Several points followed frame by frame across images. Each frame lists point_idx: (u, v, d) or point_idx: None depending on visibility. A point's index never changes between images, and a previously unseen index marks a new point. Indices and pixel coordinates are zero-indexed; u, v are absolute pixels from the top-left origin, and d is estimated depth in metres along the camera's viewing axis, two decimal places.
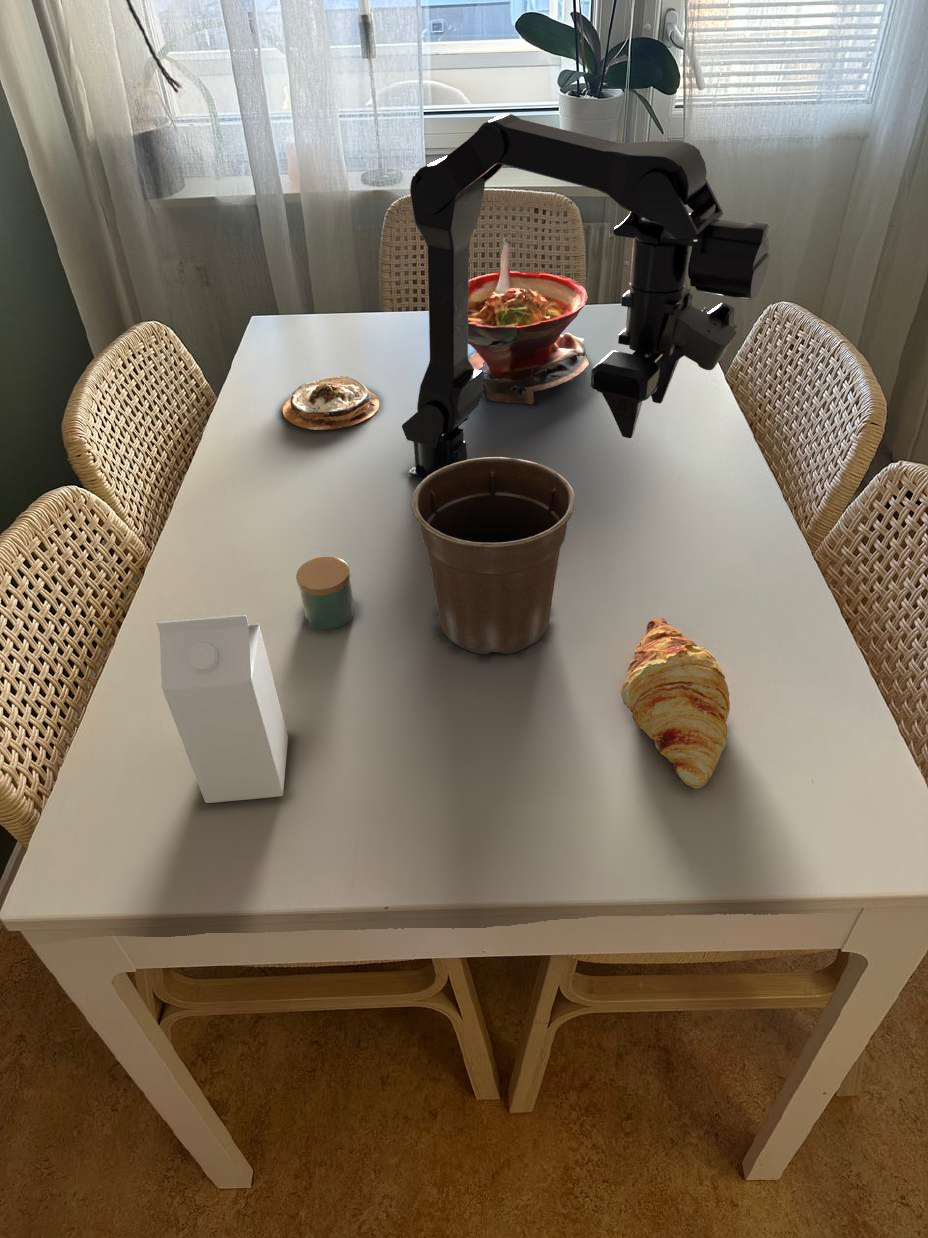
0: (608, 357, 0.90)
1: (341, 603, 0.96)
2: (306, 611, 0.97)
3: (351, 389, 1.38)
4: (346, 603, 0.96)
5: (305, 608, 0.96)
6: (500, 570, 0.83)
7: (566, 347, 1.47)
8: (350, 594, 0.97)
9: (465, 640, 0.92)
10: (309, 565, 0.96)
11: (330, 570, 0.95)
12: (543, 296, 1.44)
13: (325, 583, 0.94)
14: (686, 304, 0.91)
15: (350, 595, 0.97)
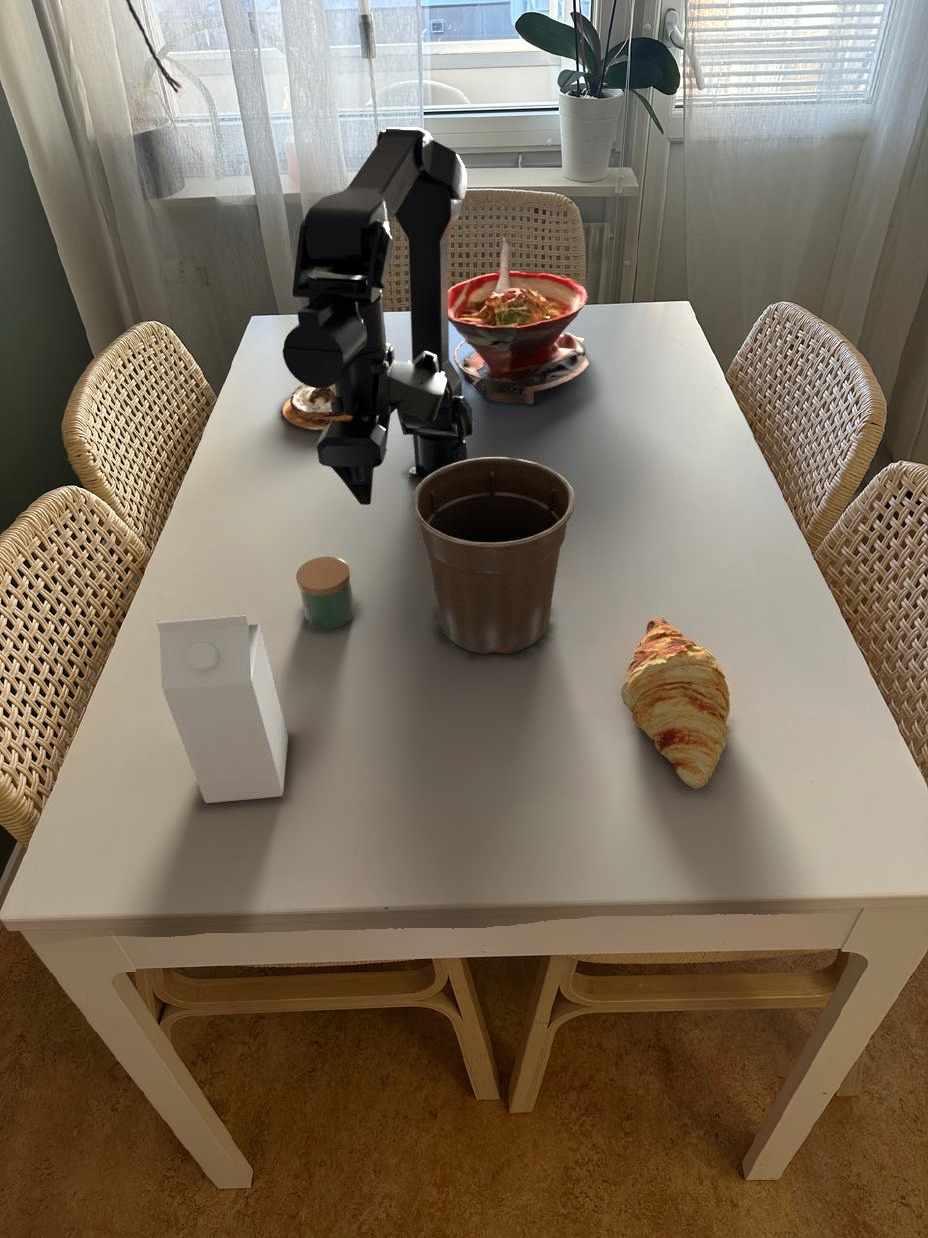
0: (330, 429, 0.84)
1: (341, 603, 0.96)
2: (306, 611, 0.97)
3: None
4: (346, 603, 0.96)
5: (305, 608, 0.96)
6: (500, 570, 0.83)
7: (566, 347, 1.47)
8: (350, 594, 0.97)
9: (464, 640, 0.92)
10: (309, 565, 0.96)
11: (330, 570, 0.95)
12: (543, 296, 1.44)
13: (325, 583, 0.94)
14: (390, 360, 0.88)
15: (350, 595, 0.97)
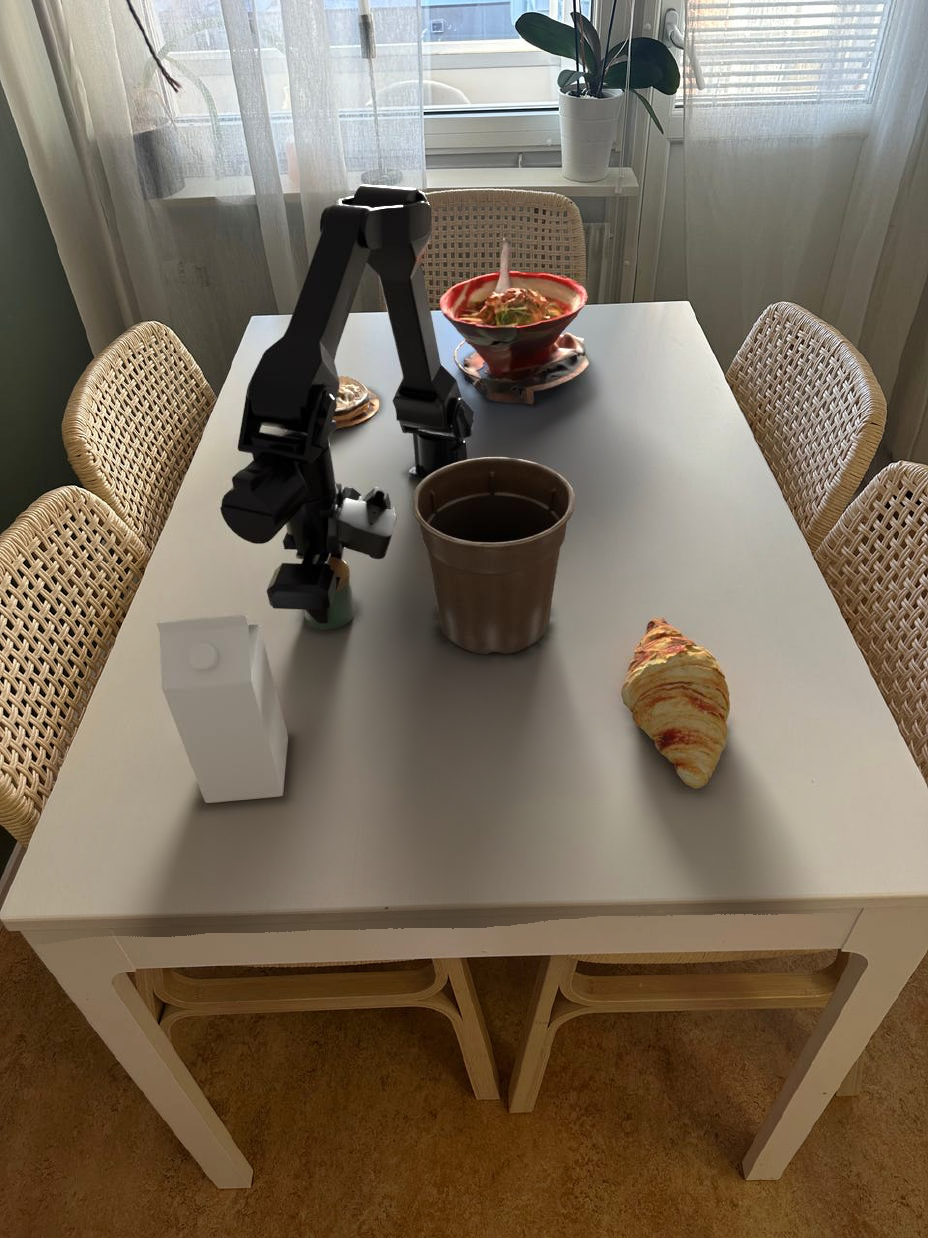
0: (280, 574, 0.86)
1: (341, 603, 0.96)
2: (306, 611, 0.97)
3: (351, 389, 1.38)
4: (346, 603, 0.96)
5: None
6: (500, 570, 0.83)
7: (566, 347, 1.47)
8: (350, 594, 0.97)
9: (464, 640, 0.92)
10: None
11: None
12: (543, 296, 1.44)
13: None
14: (341, 499, 0.90)
15: (350, 595, 0.97)
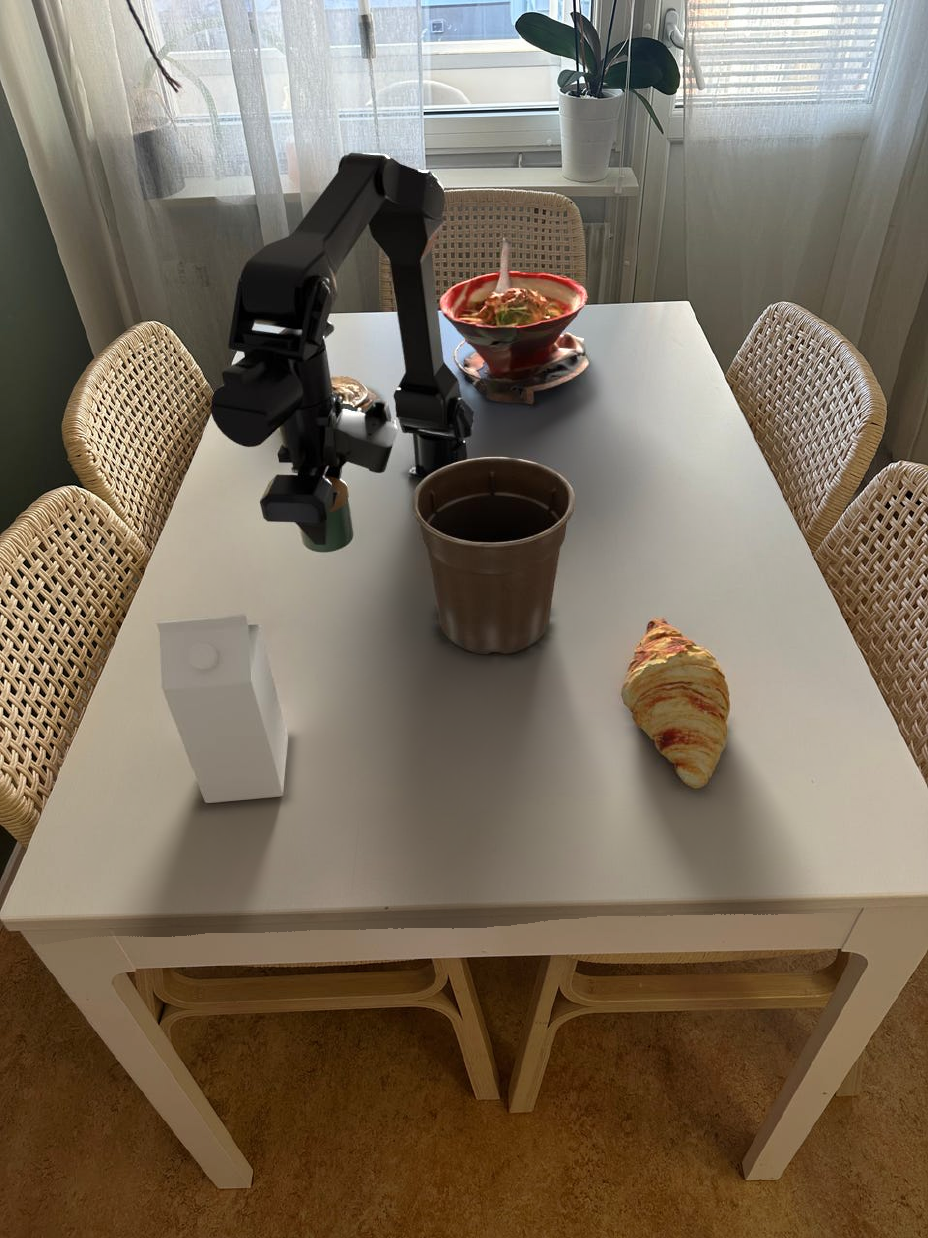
0: (274, 484, 0.82)
1: (339, 524, 0.91)
2: (302, 533, 0.92)
3: (351, 389, 1.38)
4: (344, 524, 0.92)
5: None
6: (500, 570, 0.83)
7: (566, 347, 1.47)
8: (349, 515, 0.92)
9: (464, 640, 0.92)
10: None
11: None
12: (543, 296, 1.44)
13: None
14: (339, 409, 0.85)
15: (349, 516, 0.92)
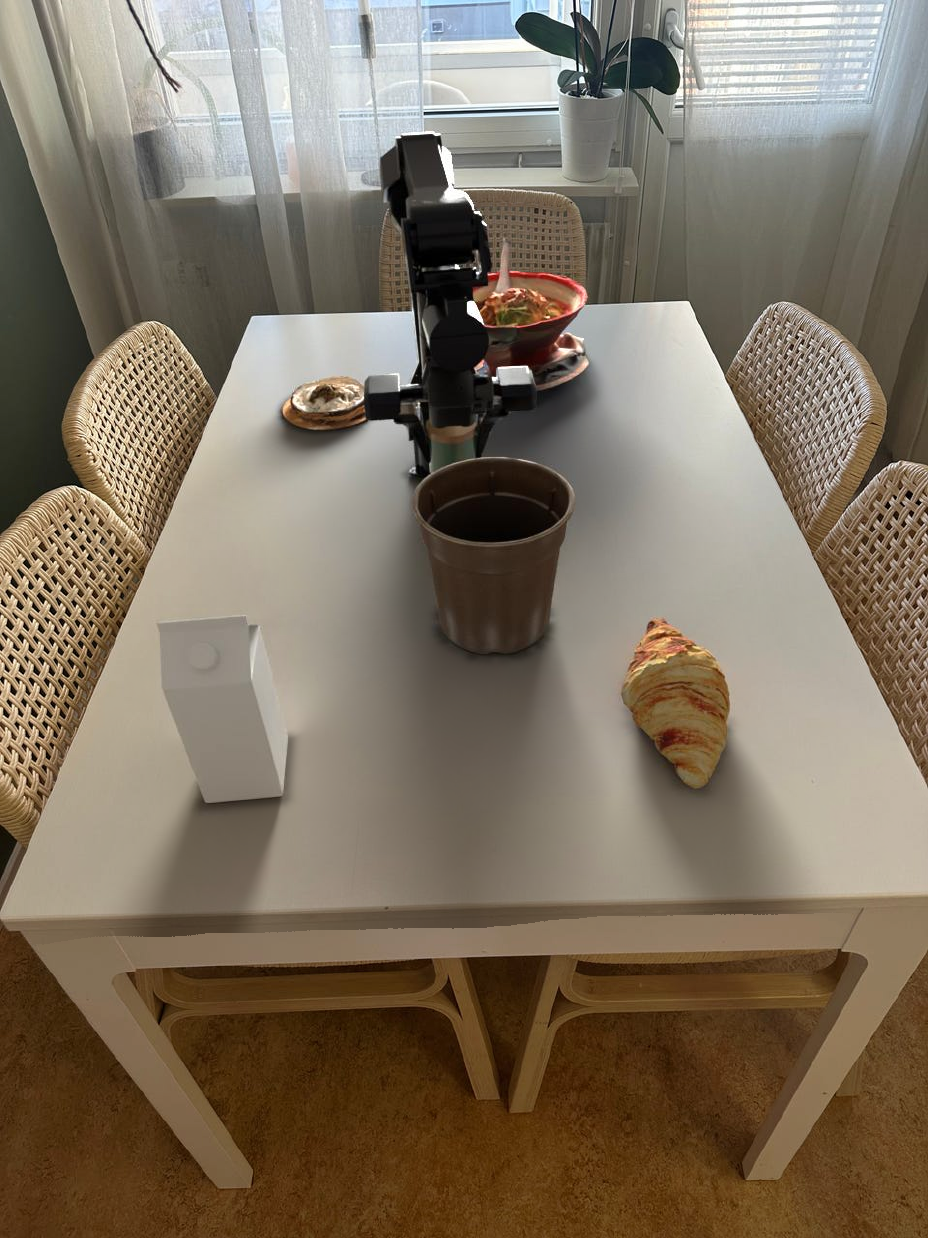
0: (382, 375, 0.97)
1: (437, 456, 0.99)
2: None
3: (351, 389, 1.38)
4: (442, 460, 0.99)
5: None
6: (500, 570, 0.83)
7: (566, 347, 1.47)
8: (451, 458, 0.99)
9: (464, 640, 0.92)
10: None
11: (455, 426, 0.98)
12: (543, 296, 1.44)
13: None
14: None
15: (451, 459, 0.99)
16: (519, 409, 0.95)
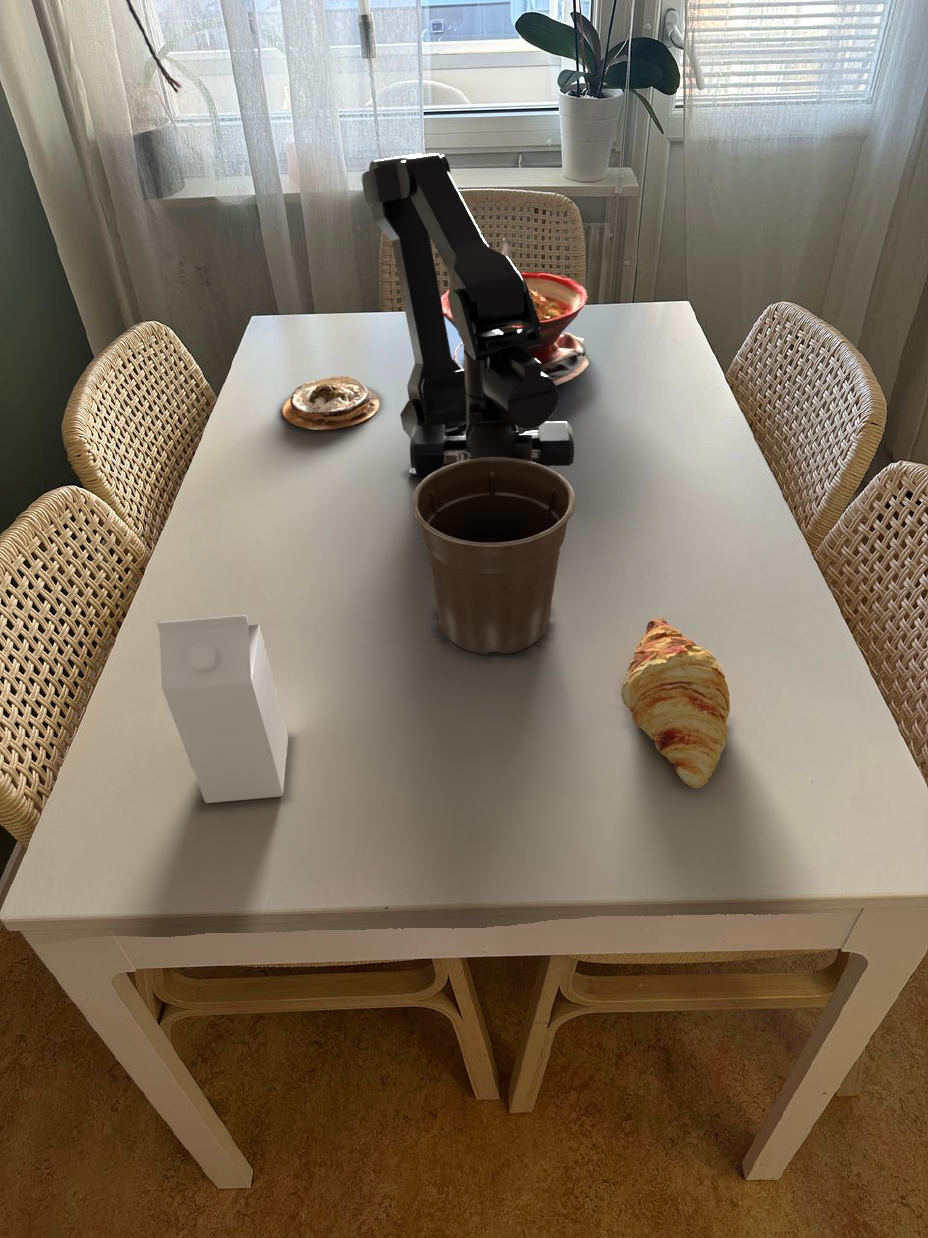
0: (429, 426, 1.02)
1: None
2: None
3: (351, 389, 1.38)
4: None
5: None
6: (500, 570, 0.83)
7: (566, 347, 1.47)
8: None
9: (464, 640, 0.92)
10: None
11: None
12: (543, 296, 1.44)
13: None
14: (500, 418, 0.96)
15: None
16: (557, 464, 0.99)
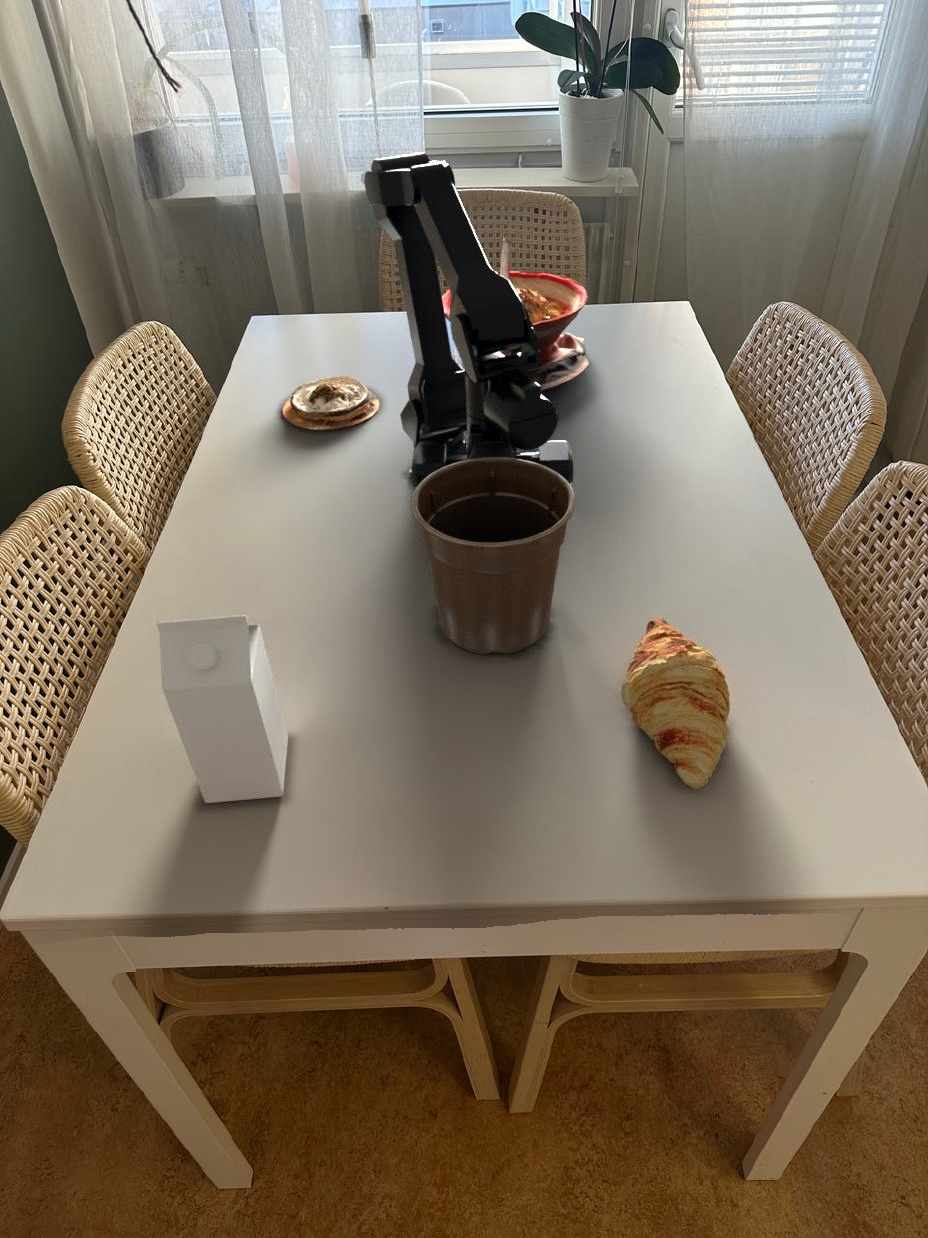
0: (430, 445, 1.03)
1: None
2: None
3: (351, 389, 1.38)
4: None
5: None
6: (500, 570, 0.83)
7: (566, 347, 1.47)
8: None
9: (464, 640, 0.92)
10: None
11: None
12: (543, 296, 1.44)
13: None
14: (500, 438, 0.97)
15: None
16: None
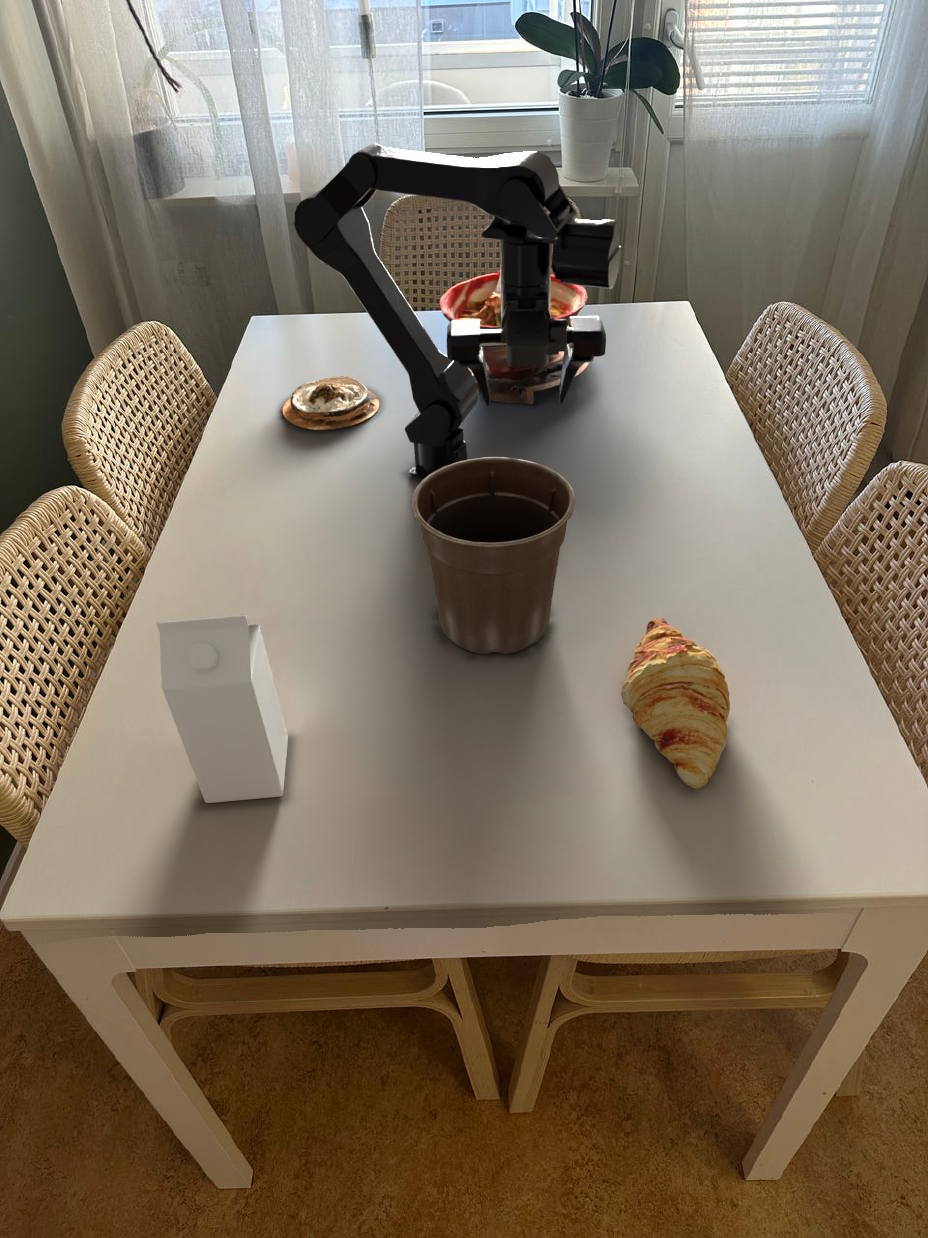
0: (464, 321, 1.05)
1: None
2: None
3: (351, 389, 1.38)
4: None
5: None
6: (500, 570, 0.83)
7: None
8: None
9: (464, 640, 0.92)
10: None
11: None
12: None
13: None
14: (535, 306, 0.99)
15: None
16: (589, 354, 1.03)
